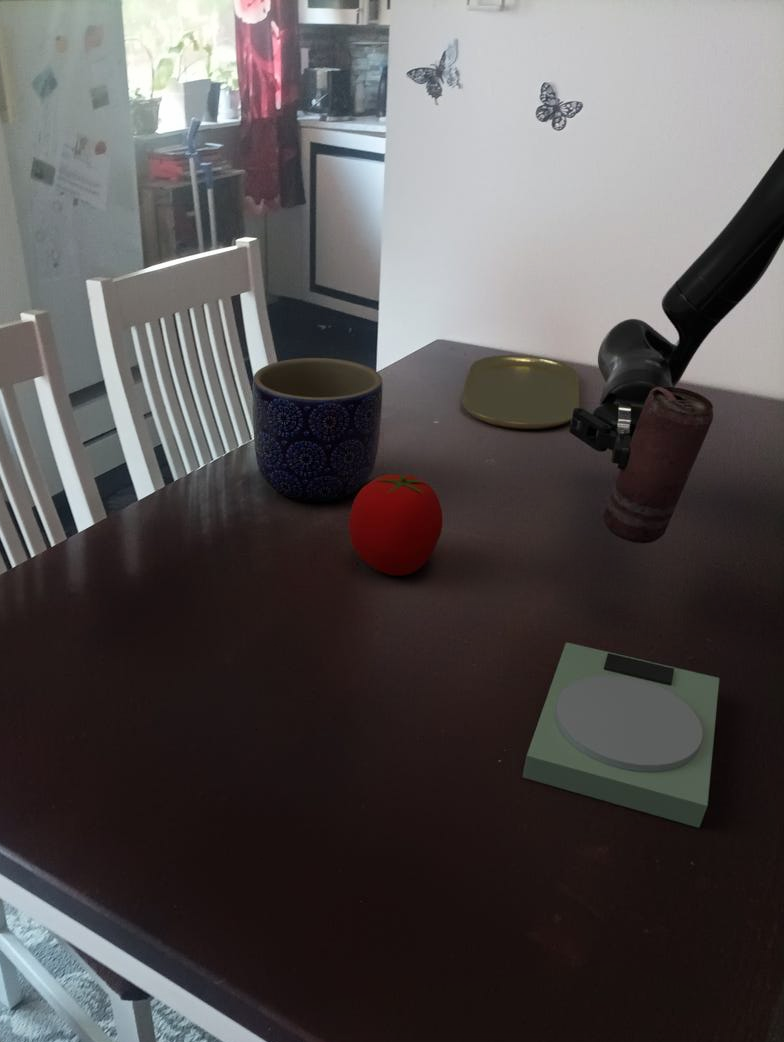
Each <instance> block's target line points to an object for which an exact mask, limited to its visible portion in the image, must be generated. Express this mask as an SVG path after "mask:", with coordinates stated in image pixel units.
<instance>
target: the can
mask: <svg viewBox="0 0 784 1042" xmlns="http://www.w3.org/2000/svg"><path fill="white" fill-rule="evenodd" d="M713 420H714V405H713V403H712V401H711V400H709V398H707V397H706V396H704V395H702V394H700V393H698V392H695V391H692V390H689V389H686V388H681V387H677V386H675V387H656V388H653V389H652V390H651V391H650V393H649V395H648V398H647V399H646V401H645V404H644V406H643V409H642V412H641V414H640V417H639V420H638V423H637V425H636V428H635V431H634V434H633V436H632V439H631V442H630V445H629V446H630V450H629V454H628V459H627V463H626V467H625V469H619V472H618V475H617V477H616V479H615V483H614V486H613V488H612V491H611V494H610V496H609V499H608V502H607V505H606V508H605V511H604V514H603V521H604V524H605V527H606V528H607V530H608V531H609V532H610V533H611V534H613V535H614V536H616V537H617V538H620V539H622V540H624V541H627V542H631V543H635V544H636V543H637V544H650V543H653V542H656V541H658V540H659V539H660V538H661V537H663V536H664V535H665V533H666V531H667V528H668V526H669V524H670V522H671V519H672V517H673V515H674V512H675V509H676V507H677V505H678V503H679V500H680V498H681V495H682V493H683V491H684V489H685V486H686V484H687V481H688V479H689V476H690V475H691V472H692V470H693V467H694V465H695V463H696V460H697V458H698V456H699V453H700V450H701V448H702V447H703V444H704V441H705V439H706V437H707V434H708V432H709V430H710V428H711V425H712V422H713Z"/></svg>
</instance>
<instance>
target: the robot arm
mask: <svg viewBox="0 0 784 1042" xmlns="http://www.w3.org/2000/svg"><path fill="white" fill-rule="evenodd" d="M783 243H784V147H783V149H782V150H781V151H780V153H778V155H777V156H776V158H775V159H774V161H773V162H772V163H771V165H770V166H769V168H768V169H767V171H766V172H765V174H764V175H763V176H762V178H761V179H760V180H759V181H758V183H757V184H756V186H755V187H754V189H752V191H751V193H750V194H749V196H748V197H747V198H746V199H745V201H744V202H743V203H742V204H741V206H740V208H739V209H738V211H736V213H735V214H734V215H733V216H732V218H730V220H729V222H727V224H726V225H725V226H724V228H723V229H722V230H721V231H720V233H719V234H717V235H716V237H715V238H714V239H713V240H712V241H711V243H709V245H708V246H707V247H706V248H705V249H704V251H702V252H701V253H700V255H699V256H698V257H697V258H696V259H695V260H694V261H693V262H692V263H691V264H690V265H689V267H687V268H686V270H684V272H683V273H681V275H680V276H679V277H678V278H677V280H675V282H674V283H673V284H672V285H671V286H670V287H669V288H668V289H667V291H666V292H665V293H664V295H663V296H662V298H661V308H662V311H663V313H664V314H665V317H666V318H667V319H668V320H669V321H670V323H671V324H672V326H673V328H674V329H675V330H676V331H677V332H676V333H677V335H678V340H677V341H676V342H675V343H674V344H673V342H671V341H670V340H669V339H667V338H666V337H665V336H663V335H662V334H661V333H660V332H659V331H657V330H656V329H655V328H654V327H652V326H651V325H650V324H649V323H648V322H646V321H644V320H642V319H640V318H628V319H624V320H622V321H619V322H618V323H617V324H615V325H614V326H613V327H612V328H610V330H609V331H608V332H607V333H606V335H605V337H603V340H602V341H601V344H600V346H599V349H598V353H597V365H598V366H597V367H598V369H599V371H600V373H601V374H600V375H602V378H603V380H604V382H605V383H604V387H603V389H602V393H601V397H600V400H599V406H597V407H595V408H594V409H593V410H592V411H588V410H586V409H584V408H582V407H579V408H574V410H573V415H572V420H570V425H569V430H568V431H569V433H570V434H571V435H573V436H574V437H575V438H577V439H579V441H582V442H583V443H584V444H586V445H588V446H589V447H591V448H592V449H593V450H595V451H596V452H599V453H600V452H606V451H607V450H610V451H611V460H610V462H611V463H612V464H617V469H619V470H620V469H625V467H626V463H627V459H628V454H629V450H630V446H629V445H630V442H631V439H632V436H633V434H634V431H635V428H636V425H637V423H638V420H639V417H640V414H641V412H642V409H643V406H644V404H645V401H646V399H647V398H648V395H649V393H650V391H651V390H652V389H653V388H656V387H677V386H678V384H679V382H680V381H681V379H682V377H683V375H684V374H685V372H686V370H687V368H688V366H689V365H690V363H691V361H692V359H693V358H694V356H695V354H696V353H697V352H698V350H699V348H700V347H701V345H702V344H703V343H704V341H705V340H706V339H707V338H708V336H709V335H710V334H711V333H712V331H713V329H715V328H716V327H717V326H718V325H719V324H720V323H721V322H722V320H723V319H725V317H727V315H729V314H730V313H731V312H732V311H733V310H734V309H735V308H736V306H738V305H739V303H740V302H741V301H742V300H743V299H745V297H747V296H748V294H749V293H750V292H751V291H752V290H753V289H754V288H755V286H756V285H757V284H758V283H759V281H760V280H762V277H763V276H764V275H765V274H766V272H767V271H768V268H769V267H770V265H771V263H772V262H773V260H774V259H775V257H776V255H777V253H778V251H780V248H781V247H782V244H783Z"/></svg>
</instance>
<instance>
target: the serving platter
mask: <svg viewBox="0 0 784 1042" xmlns="http://www.w3.org/2000/svg"><path fill="white" fill-rule="evenodd" d="M460 403H461V405H462V406H463V408H464V409H465V411H466V412H467V413H468V414H469V415H471V416H472V417H474V418H476V419H477V420H479V421H482V422H483V423H488V424H490V425H493V426H497V427H500V428H501V427H502V428H507V429H512V430H528V431H529V430H532V431H533V430H545V429H546V430H547V429H551V428H555V427H556V428H557V427H559V426H562V425H565V424H568V423H569V422H571V420H572V415H573V410H574V408H580V377H579V373H578V371H576V369H574V368H573V367H571V366H570V365H568V364H566V363H564V362H560V361H557V360H554V359H549V358H546V357H539V356H533V355H524V354H523V355H522V354H521V355H520V354H503V355H502V354H501V355H492V356H488V357H483V358H480V359H478V360H475V361H474V362H473V363H472V364H470V367H469V370H468V374H467V377H466V380H465V384H464V387H463V391H462V395H461V397H460Z"/></svg>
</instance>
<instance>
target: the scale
mask: <svg viewBox="0 0 784 1042" xmlns="http://www.w3.org/2000/svg"><path fill="white" fill-rule="evenodd" d="M719 687H720V678H719V677H718V676H717V677H716V676H712V675H708V674H704V673H700V672H696V671H692V670H687V669H683V668H678V667H674V666H669V665H666V664H662V663H661V664H660V663H657V662H653V661H648V660H645V659H640V658H636V657H631V656H627V655H623V654H618V653H615V652H610V651H605V650H601V649H597V648H593V647H588V646H583V645H580V644H576V643H571V642H567V641H566V642H565V644H564V647H563V650H562V653H561V655H560V659H559V661H558V665H557V667H556V670H555V672H554V675H553V679H552V682H551V685H550V687H549V690H548V693H547V696H546V699H545V702H544V705H543V707H542V710H541V713H540V715H539V716H540V717H539V719H538V721H537V725H536V728H535V731H534V733H533V736H532V739H531V742H530V745H529V748H528V751H527V753H526V757H525V763H524V766H523V771H522V778H523V779H526V780H530V781H533V782H537V783H540V784H544V785H547V786H550V787H555V788H558V789H562V790H565V791H567V792H572V793H575V794H579V795H582V796H585V797H589V798H593V799H597V800H599V801H602V802H607V803H610V804H614V805H618V806H620V807H624V808H628V809H632V810H635V811H639V812H641V813H646V814H649V815H652V816H656V817H659V818H663V819H666V820H669V821H673V822H677V823H680V824H684V825H687V826H690V827H694V828H696V829H700V828H701V825H702V822H703V820H704V816H705V814H706V811H707V809H708V807H709V806H708V805H709V796H710V795H709V794H710V784H711V773H712V763H713V752H714V742H715V732H716V731H715V730H716V729H715V728H716V720H717V711H718V709H717V708H718V697H719Z"/></svg>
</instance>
